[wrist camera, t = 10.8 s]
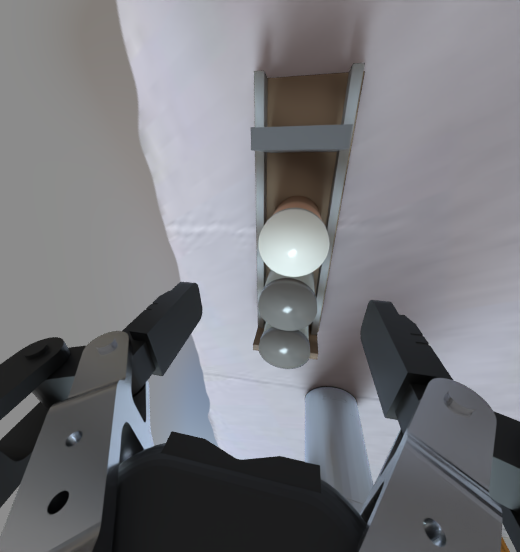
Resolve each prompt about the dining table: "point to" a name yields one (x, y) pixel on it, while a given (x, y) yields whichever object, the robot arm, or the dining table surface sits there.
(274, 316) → the grey jar
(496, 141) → the dining table surface
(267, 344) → the grey jar
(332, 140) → the pusher paddle
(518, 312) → the dining table surface
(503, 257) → the dining table surface
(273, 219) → the terracotta jar
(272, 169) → the jar lane
